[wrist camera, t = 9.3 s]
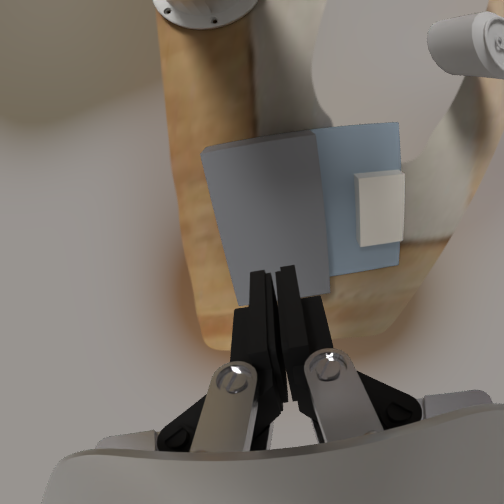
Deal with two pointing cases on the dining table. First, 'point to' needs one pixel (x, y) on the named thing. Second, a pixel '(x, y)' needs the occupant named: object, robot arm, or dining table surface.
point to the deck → (270, 209)
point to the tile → (379, 207)
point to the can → (469, 45)
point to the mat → (343, 191)
